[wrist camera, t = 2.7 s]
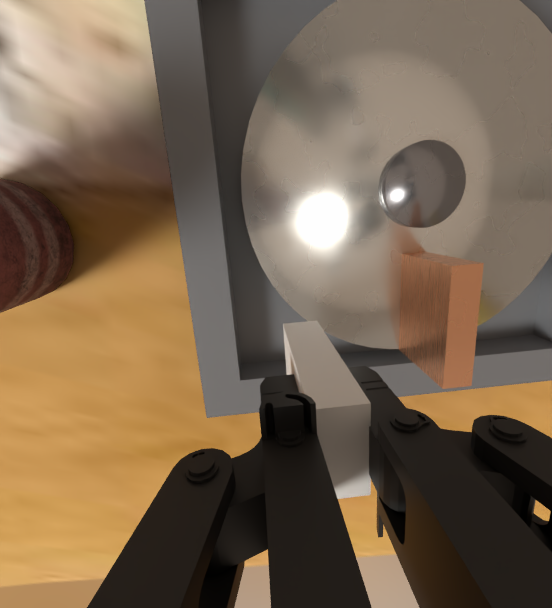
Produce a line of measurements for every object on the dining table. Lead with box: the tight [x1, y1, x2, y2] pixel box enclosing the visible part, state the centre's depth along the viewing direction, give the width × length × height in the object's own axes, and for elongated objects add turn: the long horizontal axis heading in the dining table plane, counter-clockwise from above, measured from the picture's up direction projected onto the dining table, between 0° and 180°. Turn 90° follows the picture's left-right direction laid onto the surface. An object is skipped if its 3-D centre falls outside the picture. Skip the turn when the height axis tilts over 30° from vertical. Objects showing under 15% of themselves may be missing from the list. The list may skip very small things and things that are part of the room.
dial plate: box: [144, 0, 552, 418], centre depth 16 cm, size 22×22×4 cm
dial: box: [241, 0, 552, 389], centre depth 14 cm, size 16×16×6 cm
